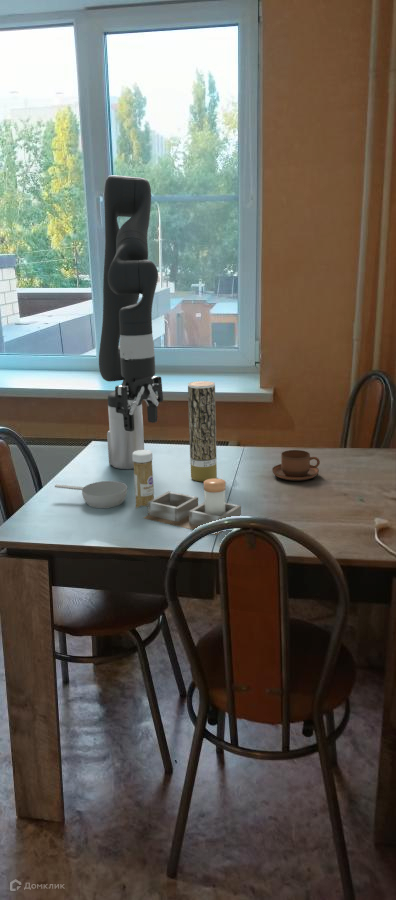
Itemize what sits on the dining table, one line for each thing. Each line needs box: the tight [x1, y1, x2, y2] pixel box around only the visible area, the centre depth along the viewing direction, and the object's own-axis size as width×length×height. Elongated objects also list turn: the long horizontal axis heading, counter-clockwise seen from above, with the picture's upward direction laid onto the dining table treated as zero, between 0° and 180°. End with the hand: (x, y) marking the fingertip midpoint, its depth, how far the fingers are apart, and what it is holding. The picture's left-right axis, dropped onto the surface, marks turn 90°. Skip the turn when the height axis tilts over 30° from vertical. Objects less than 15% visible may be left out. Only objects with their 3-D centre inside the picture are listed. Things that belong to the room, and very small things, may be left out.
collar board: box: [143, 490, 242, 536], centre depth 151 cm, size 19×12×4 cm, turn 57°
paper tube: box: [187, 380, 218, 483], centre depth 176 cm, size 7×7×25 cm
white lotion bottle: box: [203, 477, 226, 516], centre depth 147 cm, size 5×5×9 cm
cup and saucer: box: [271, 449, 321, 482], centre depth 179 cm, size 12×12×6 cm
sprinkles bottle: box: [132, 449, 155, 509], centre depth 159 cm, size 5×5×14 cm
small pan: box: [54, 480, 128, 509], centre depth 166 cm, size 11×18×4 cm, turn 78°
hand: (141, 426), depth 156 cm, fingers open, 8 cm apart
